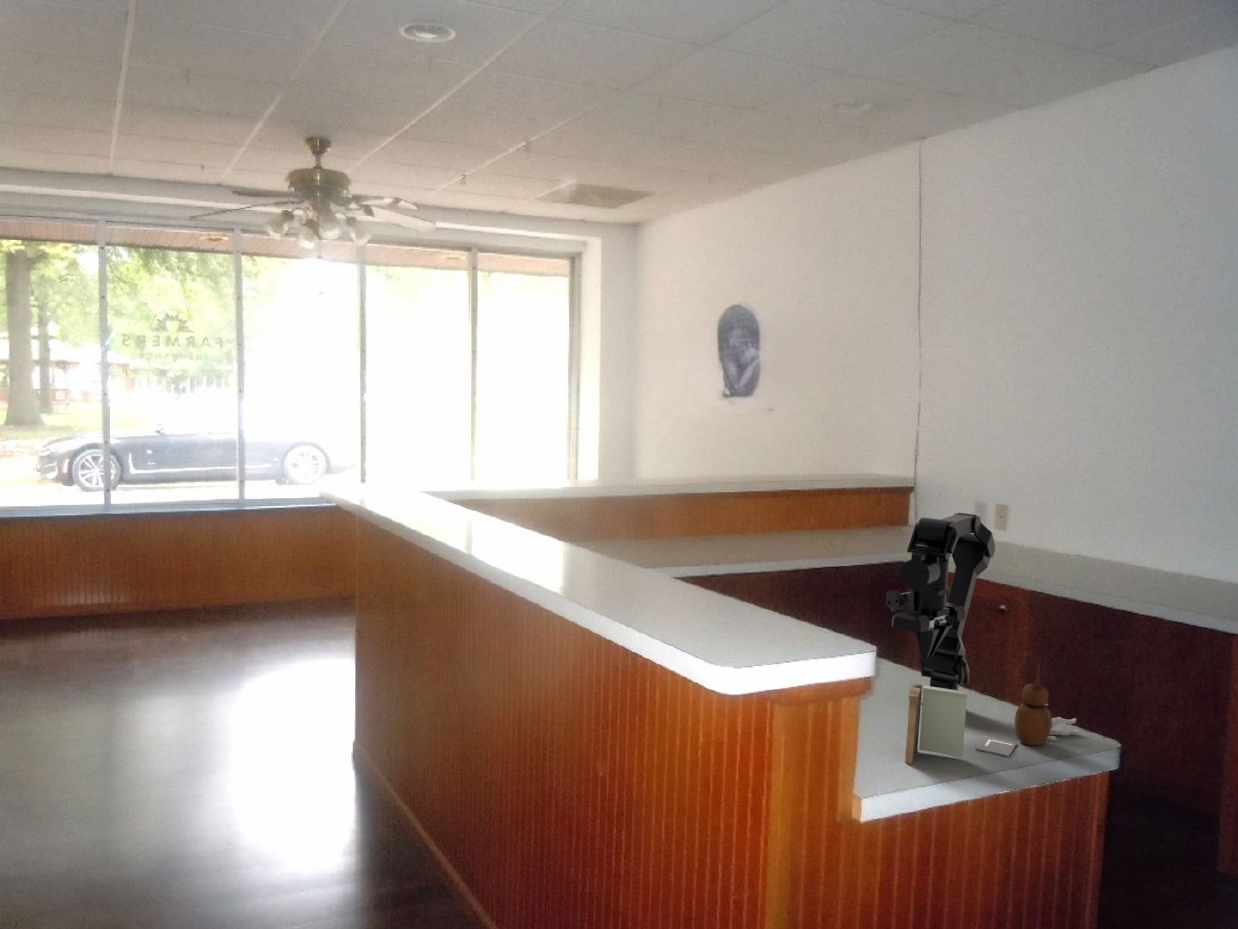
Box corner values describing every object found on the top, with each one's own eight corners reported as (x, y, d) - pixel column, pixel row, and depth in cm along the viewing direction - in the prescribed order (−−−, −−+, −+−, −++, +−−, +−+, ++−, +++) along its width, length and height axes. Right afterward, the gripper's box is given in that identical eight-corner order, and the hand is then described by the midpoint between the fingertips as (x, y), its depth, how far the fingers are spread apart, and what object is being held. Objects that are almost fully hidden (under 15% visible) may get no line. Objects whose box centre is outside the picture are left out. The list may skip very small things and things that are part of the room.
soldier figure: (1084, 747, 194) (1035, 731, 191) (1065, 756, 198) (1017, 740, 194) (1074, 710, 199) (1027, 694, 196) (1057, 720, 203) (1009, 704, 199)
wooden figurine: (1026, 734, 197) (1032, 659, 195) (1054, 743, 192) (1061, 667, 191) (1007, 741, 192) (1014, 665, 191) (1036, 751, 188) (1043, 673, 186)
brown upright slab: (906, 748, 186) (911, 682, 185) (917, 750, 186) (922, 684, 185) (902, 762, 180) (907, 694, 178) (914, 764, 179) (919, 696, 178)
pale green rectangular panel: (918, 750, 184) (923, 688, 183) (919, 747, 185) (924, 685, 184) (962, 757, 181) (966, 694, 180) (962, 754, 183) (967, 692, 182)
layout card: (983, 737, 194) (984, 735, 194) (1016, 744, 191) (1016, 742, 191) (975, 749, 187) (975, 747, 187) (1008, 757, 184) (1009, 755, 184)
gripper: (919, 569, 211) (914, 642, 212) (870, 579, 198) (865, 657, 199) (969, 579, 203) (963, 654, 204) (922, 590, 190) (916, 670, 191)
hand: (926, 658), depth 200 cm, fingers closed
